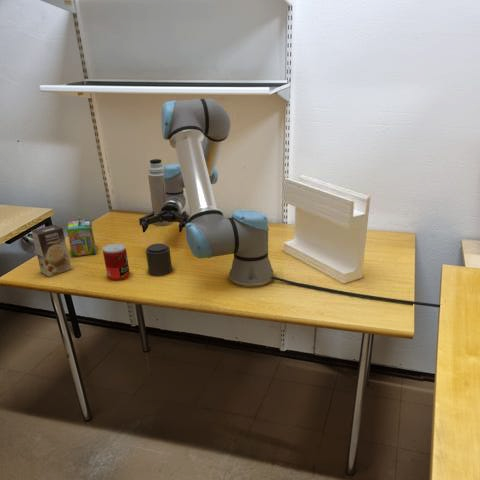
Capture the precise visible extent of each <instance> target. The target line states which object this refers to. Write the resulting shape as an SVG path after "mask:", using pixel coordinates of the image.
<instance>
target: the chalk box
mask: <svg viewBox="0 0 480 480" xmlns="http://www.w3.org/2000/svg"><path fill="white" fill-rule="evenodd" d="M66 232H67V233H66V234H67V237H68V242H69V246H70V251H71V252H70V253H71V256H72V257H73V258H74V257H80V256H91V255H96V251H97V249H96V248H97V247H96V241H95V235H94V229H93V224H92V219H83V220H81V214H79V217H78V220H71V221H67V223H66Z"/></svg>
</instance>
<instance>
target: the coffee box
mask: <svg viewBox="0 0 480 480" xmlns="http://www.w3.org/2000/svg"><path fill="white" fill-rule="evenodd" d="M30 231H31V236H32V240H33V244H34V249H35V252H36V258H37V261H38V265H39V269H40V273H42V274H44V275H45V276H46V277H49V278H50V277H53V276H55V275H58V274H62V273H64V272H67V271H71V270H72V266H71V265H72V264H71V261H70V257H69V252H68V247H67V243H66V237H65V233H64V228H63V227H62V226H59V225H56V224H52V225H48V226H44V227H39V228H35V229H31V230H30Z"/></svg>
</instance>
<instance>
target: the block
mask: <svg viewBox="0 0 480 480" xmlns="http://www.w3.org/2000/svg"><path fill="white" fill-rule="evenodd" d="M298 180H299V181H297V180H294V179H292V178H289V177H284V184H283V190H284V191H283V203H285V204H287V205H290V206H292V207H294V236H293V238H292V239H291V240H288V241H284V242H283V246H282V248H283V249H282V251H283V252H285V254H288V255H290V256H292V257H294V258H295V259H297V260H298V261H301V262H302V263H305V264H307V265H309V266H310V267H312V268H314V269H315V270H318V271H319V272H321V273H323V274H325V275H327V276H329V277H331V278H332V279H334V280H336V281H338V282H340V283H341V284H346V283H350V282H352V281H353V282H354V281H356V280H359V279H362V278H363V271H364V260H365V252H366V251H365V250H366V243H367V231H368V224H369V214H370V205H371V195H367V194H364V193H361V192H358V191H355V190H351V189H348V188H345V187H342V186H339V185H336V184H333V183H329V182H326V181H323V180H320V179H317V178H314V177H310V176H308V175H305V174H300V175H299V176H298Z"/></svg>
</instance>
